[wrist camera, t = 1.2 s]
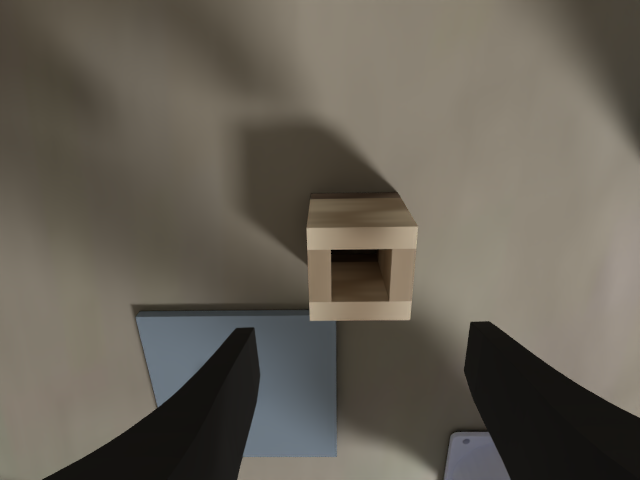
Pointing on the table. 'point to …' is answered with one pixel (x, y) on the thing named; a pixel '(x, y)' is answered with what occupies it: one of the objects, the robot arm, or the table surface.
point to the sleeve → (360, 257)
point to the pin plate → (275, 372)
